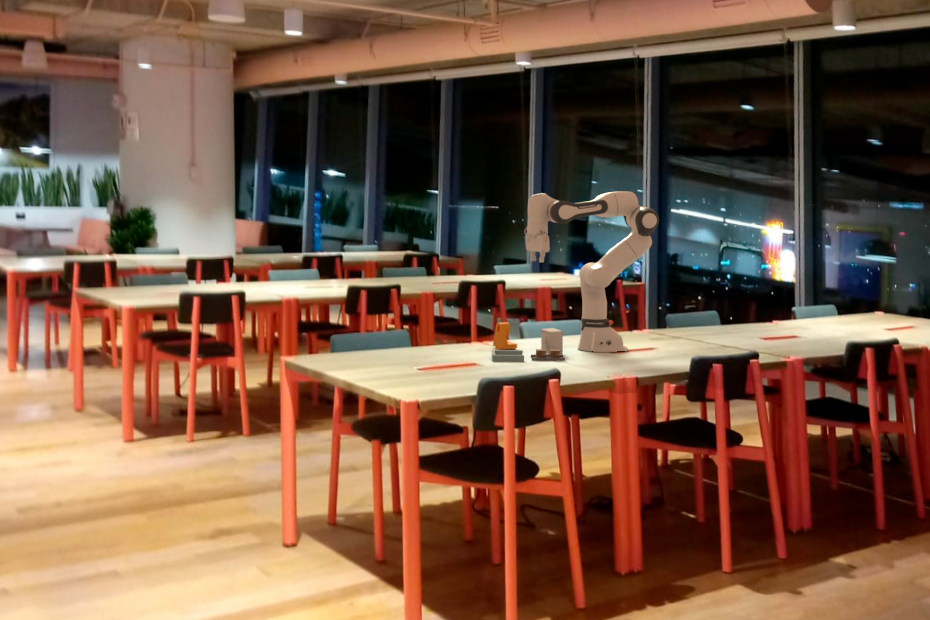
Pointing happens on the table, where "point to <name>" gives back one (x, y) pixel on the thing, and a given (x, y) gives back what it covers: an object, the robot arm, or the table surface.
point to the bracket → (503, 337)
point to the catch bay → (507, 355)
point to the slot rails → (548, 358)
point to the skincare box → (552, 340)
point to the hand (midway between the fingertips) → (537, 261)
